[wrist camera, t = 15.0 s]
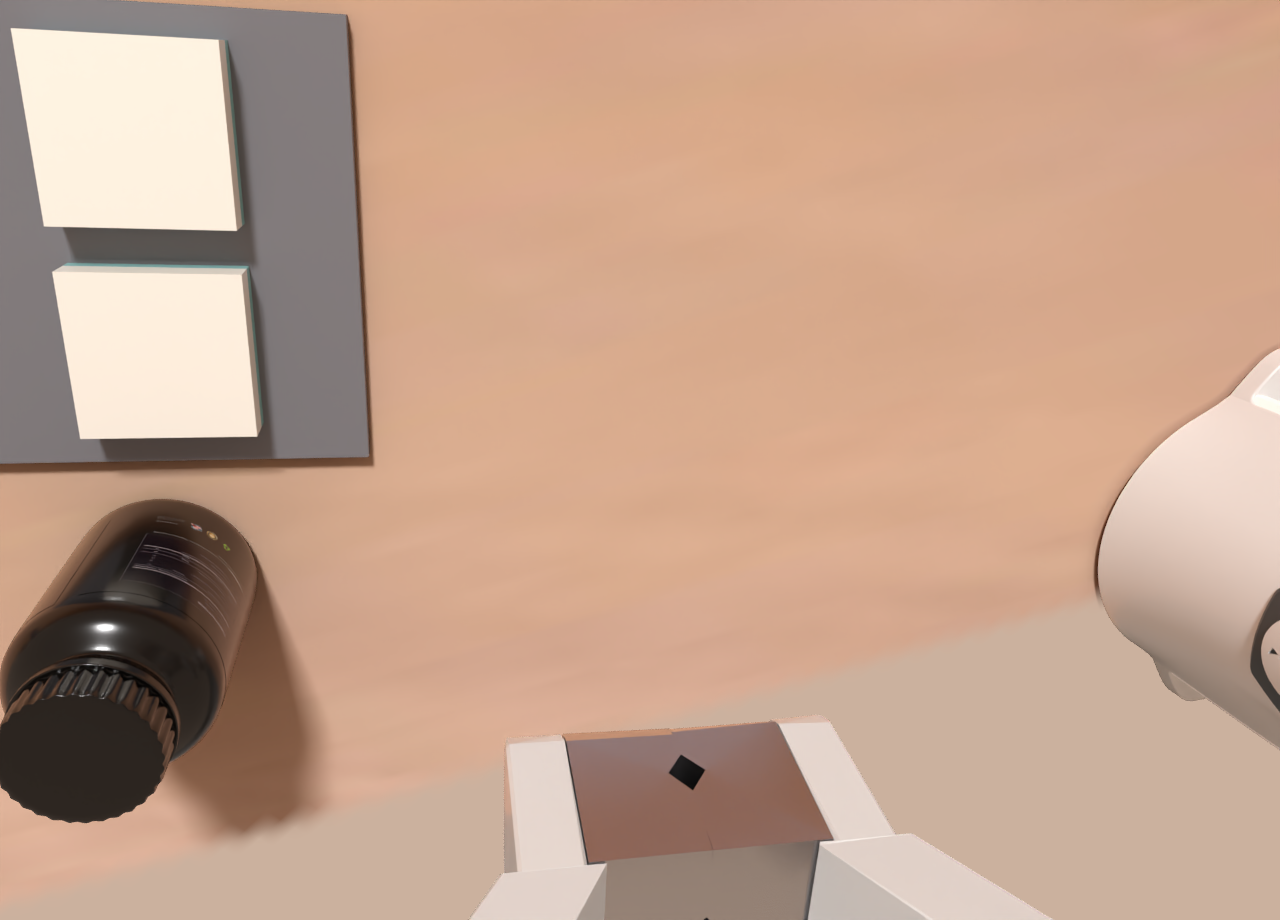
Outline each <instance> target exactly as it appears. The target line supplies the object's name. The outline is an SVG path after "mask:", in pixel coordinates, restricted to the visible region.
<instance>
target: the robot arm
mask: <svg viewBox="0 0 1280 920" xmlns="http://www.w3.org/2000/svg"><path fill="white" fill-rule="evenodd" d="M1098 581H1099V589H1100V594H1101V598H1102V601H1103V604H1104V607H1105V609H1106V611H1107V613H1108V616H1109V617H1110V619H1111V621H1112V622H1113V623H1114V625H1115V626H1116V627H1117V629H1118V630H1119V631H1120V632H1121V633H1122V634H1123V635H1124V636H1125V637H1126V638H1127V639H1129V640H1130V641H1131V642H1133V643H1134V644H1136V645H1137V646H1139V647H1140V648H1142V649H1143V650H1144V651H1146V652H1147V653H1148V654H1149V655H1150V656H1151V657H1152V658H1153V660H1154V662H1155V665H1156V667H1157V670H1158V672H1159V675H1160V677H1161V679H1162V681H1163V683H1164V684H1165V686H1166V687H1167V688H1168V689H1169V690H1171V691H1172V692H1174V693H1175V694H1177V695H1178V696H1179V697H1181V698H1182V699H1184V700H1187V701H1195V700H1200V699H1204V698H1206V699H1208V700H1209V701H1211V702H1212V703H1213V704H1215V705H1216V706H1218V707H1219V708H1220V709H1222V710H1223V711H1225V712H1226V713H1228V714H1229V715H1230V716H1232V717H1233V718H1235V719H1236V720H1237V721H1239V722H1240V723H1242V724H1243V725H1244V726H1246V727H1247V728H1249V729H1250V730H1252V731H1253V732H1255V733H1256V734H1257V735H1259V736H1260V737H1262V738H1263V739H1265V740H1266V741H1267V742H1269V743H1270V744H1272V745H1273V746H1275V747H1276V748H1278V749H1279V750H1280V349H1277V350H1275V351H1273V352H1272V353H1270V354H1269V355H1267V356H1266V357H1265V358H1264V359H1263V360H1262V361H1260V362H1259V363H1258V364H1257V365H1256V366H1255V367H1254V368H1253V370H1252V371H1251V372H1250V373H1249V374H1248V375H1247V376H1246V377H1245V378H1244V379H1243V381H1242V382H1241V383H1240V384H1239V385H1238V386H1237V388H1236V389H1235V390H1234V391H1233V392H1232V393H1231V395H1230V396H1228V397H1227V398H1226V399H1224V400H1223V401H1222V402H1220V403H1219V404H1218V405H1216V406H1215V407H1213V408H1211V409H1210V410H1208V411H1207V412H1205V413H1203V414H1202V415H1200V416H1198V417H1197V418H1195V419H1193V420H1192V421H1190V422H1189V423H1187V424H1186V425H1184V426H1183V427H1181V428H1180V429H1179V430H1177V431H1176V432H1175V433H1173V434H1172V435H1171V436H1170V437H1169V438H1167V439H1166V440H1165V441H1164V442H1163V443H1162V444H1161V445H1160V446H1159V447H1158V448H1156V449H1155V450H1154V451H1153V452H1152V453H1151V455H1150V456H1149V457H1148V458H1147V459H1146V460H1145V461H1144V462H1143V463H1142V465H1141V466H1140V467H1139V468H1138V469H1137V471H1136V472H1135V473H1134V475H1133V476H1132V477H1131V479H1130V480H1129V482H1128V483H1127V485H1126V486H1125V488H1124V489H1123V491H1122V493H1121V495H1120V496H1119V498H1118V500H1117V502H1116V504H1115V506H1114V508H1113V510H1112V512H1111V514H1110V517H1109V519H1108V522H1107V525H1106V528H1105V531H1104V534H1103V538H1102V542H1101V546H1100V552H1099V561H1098ZM504 866H505V867H504V868H505V873H504V874H500V875H499V877H498V878H497V879H496V881H495V882H494V884H493V885H492V886H491V888H490V889H489V891H488V892H487V894H486V895H485V896H484V898H483V899H482V901H481V902H480V903H479V905H478V906H477V908H476V909H475V911H474V912H473V913H472V915H471V916H470V918H469V919H468V920H1053V919H1051V918H1049V917H1048V916H1046V915H1045V914H1043V913H1041V912H1040V911H1038V910H1036V909H1035V908H1033V907H1031V906H1030V905H1028V904H1027V903H1025V902H1023V901H1022V900H1020V899H1018V898H1017V897H1015V896H1013V895H1012V894H1010V893H1009V892H1007V891H1005V890H1003V889H1002V888H1000V887H999V886H997V885H995V884H994V883H992V882H991V881H989V880H987V879H985V878H984V877H982V876H981V875H979V874H977V873H976V872H974V871H973V870H971V869H969V868H968V867H966V866H964V865H963V864H961V863H959V862H958V861H956V860H955V859H953V858H951V857H950V856H948V855H946V854H945V853H943V852H941V851H940V850H938V849H936V848H935V847H933V846H931V845H930V844H928V843H927V842H925V841H923V840H922V839H920V838H918V837H917V836H915V835H914V834H902V835H896V833H895V831H894V830H893V828H892V826H891V825H890V823H889V821H888V819H887V818H886V816H885V814H884V813H883V811H882V809H881V808H880V806H879V804H878V802H877V801H876V799H875V797H874V796H873V794H872V792H871V790H870V789H869V787H868V786H867V784H866V782H865V780H864V779H863V777H862V775H861V773H860V772H859V770H858V768H857V767H856V765H855V763H854V762H853V760H852V758H851V757H850V755H849V753H848V751H847V750H846V748H845V746H844V745H843V743H842V741H841V740H840V738H839V736H838V734H837V733H836V731H835V729H834V727H833V726H832V724H831V722H830V721H829V720H828V719H827V718H825V717H824V716H822V715H811V716H801V717H791V718H782V719H771V720H770V721H769V722H755V723H743V724H730V725H718V726H705V727H692V728H679V729H650V730H631V731H611V732H591V733H571V734H563V735H562V737H561V735H560V734H559V735H543V736H528V737H512V738H506V743H505V749H504Z"/></svg>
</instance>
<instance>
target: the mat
mask: <svg viewBox="0 0 1280 920" xmlns="http://www.w3.org/2000/svg"><path fill="white" fill-rule="evenodd" d="M11 28H20V29H42V30H59V31H77V32H94V33H112V34H130V35H147V36H165V37H182V38H200V39H218V40H228V50H229V61H230V72H231V82H232V93H233V104H234V114H235V125H236V136H237V146H238V157H239V168H240V179H241V189H242V200H243V211H244V221H245V224H244V225H243V226H242V227H241V228H239V229H238V230H237V231H220V230H177V229H133V228H89V227H46V226H44V224H43V218H42V212H41V206H40V200H39V194H38V188H37V182H36V176H35V170H34V164H33V158H32V152H31V146H30V140H29V134H28V128H27V122H26V116H25V110H24V105H23V99H22V93H21V87H20V81H19V75H18V69H17V63H16V57H15V51H14V45H13V39H12V33H11ZM66 263H104V264H164V265H224V266H249V270H250V280H251V291H252V302H253V313H254V323H255V334H256V345H257V355H258V366H259V377H260V388H261V398H262V409H263V420H264V423H263V425H262V427H261V430H260V432H259V434H258V436H257V437H193V438H120V439H80V435H79V429H78V423H77V417H76V411H75V405H74V399H73V393H72V387H71V381H70V375H69V369H68V363H67V357H66V351H65V345H64V339H63V333H62V327H61V321H60V315H59V309H58V304H57V298H56V292H55V286H54V280H53V274H52V272H53V271H54V270H56V269H58V268H60V267H61V266H63V265H65V264H66ZM369 453H370V447H369V427H368V408H367V388H366V369H365V349H364V330H363V311H362V291H361V272H360V252H359V233H358V213H357V194H356V174H355V155H354V135H353V116H352V96H351V77H350V57H349V38H348V18H347V15H344V14H328V13H312V12H296V11H280V10H264V9H248V8H232V7H216V6H200V5H184V4H168V3H153V2H137V1H121V0H0V464H6V463H63V462H119V461H175V460H232V459H288V458H344V457H369Z"/></svg>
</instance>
